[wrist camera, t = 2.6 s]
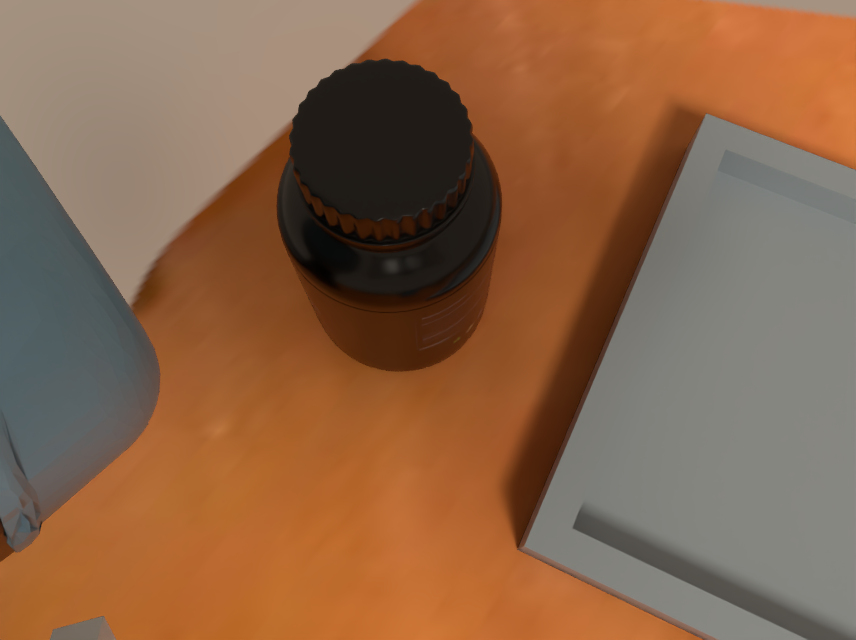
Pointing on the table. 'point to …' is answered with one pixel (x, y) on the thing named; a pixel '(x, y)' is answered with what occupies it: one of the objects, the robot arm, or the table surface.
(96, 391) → the robot arm
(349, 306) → the supplement bottle
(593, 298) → the table surface
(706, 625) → the tray
